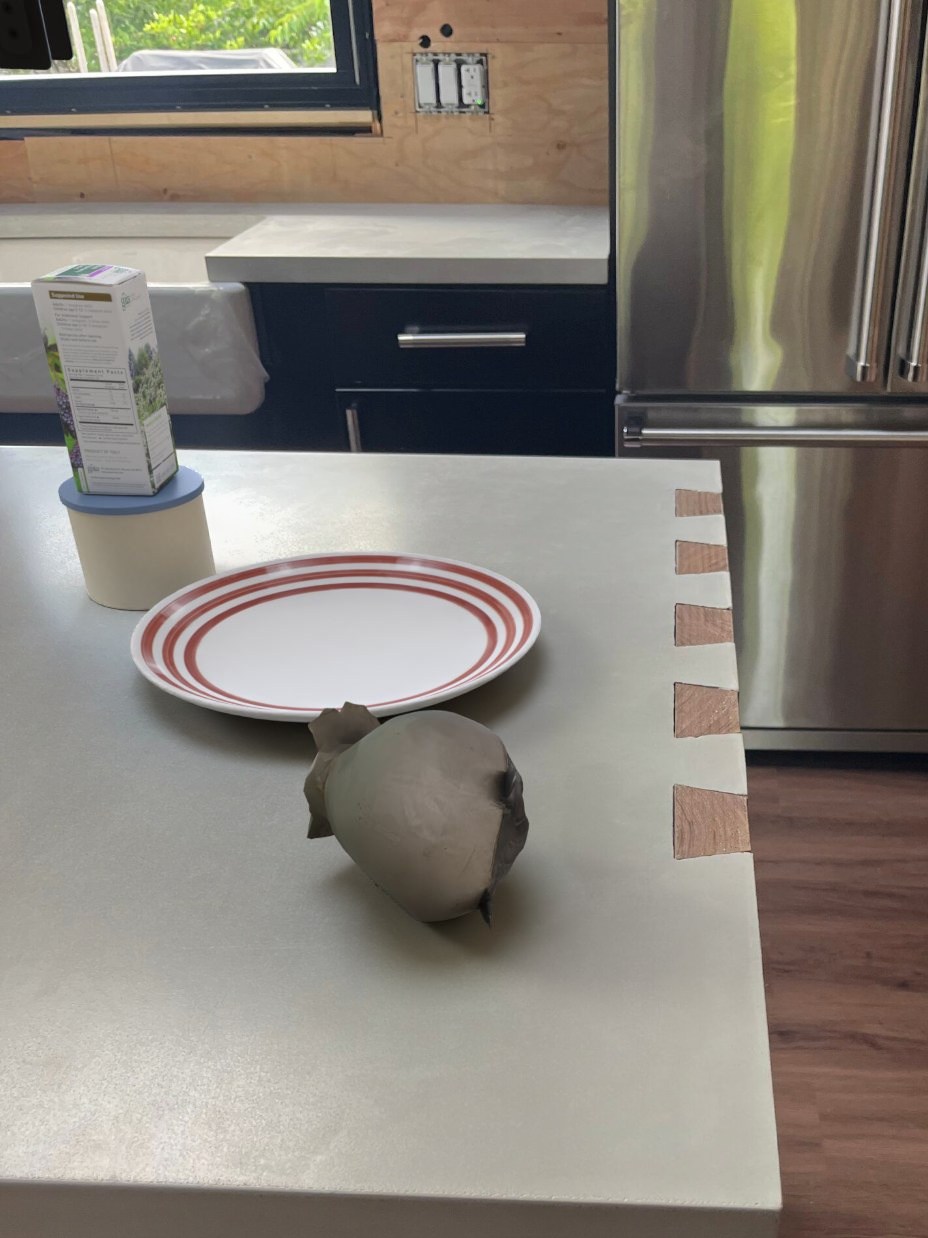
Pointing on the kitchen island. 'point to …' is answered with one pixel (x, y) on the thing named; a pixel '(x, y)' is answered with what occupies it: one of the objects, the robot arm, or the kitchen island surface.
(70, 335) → the syrup box
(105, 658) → the kitchen island surface
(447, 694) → the dinner plate
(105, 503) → the yogurt tub
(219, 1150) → the kitchen island surface
